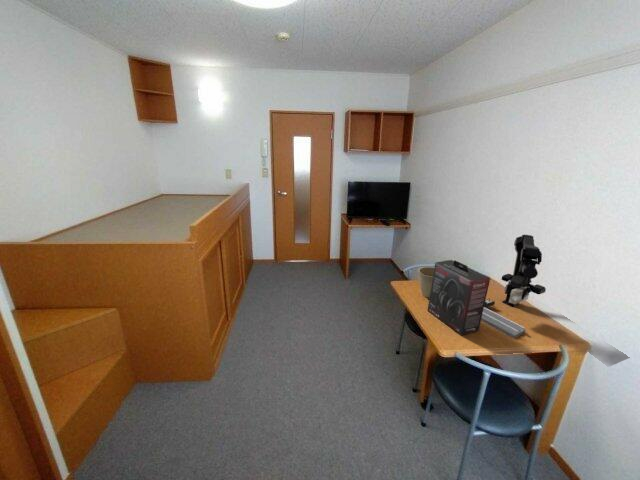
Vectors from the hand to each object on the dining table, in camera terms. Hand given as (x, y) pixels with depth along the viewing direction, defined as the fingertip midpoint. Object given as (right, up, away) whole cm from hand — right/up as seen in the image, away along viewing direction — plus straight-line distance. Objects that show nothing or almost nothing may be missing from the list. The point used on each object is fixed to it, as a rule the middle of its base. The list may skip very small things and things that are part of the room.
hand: (518, 298), depth 151 cm
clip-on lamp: (-15, -8, +17) cm, 24 cm away
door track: (-13, -13, 0) cm, 18 cm away
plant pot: (-38, -4, +27) cm, 47 cm away
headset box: (-35, -12, +1) cm, 37 cm away
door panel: (0, -1, 0) cm, 2 cm away
